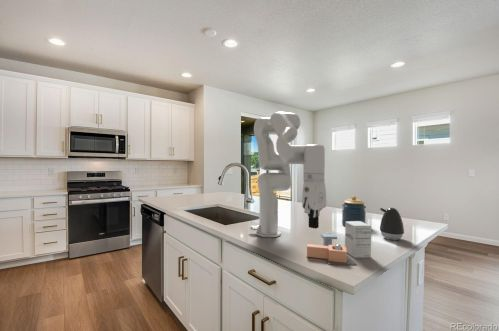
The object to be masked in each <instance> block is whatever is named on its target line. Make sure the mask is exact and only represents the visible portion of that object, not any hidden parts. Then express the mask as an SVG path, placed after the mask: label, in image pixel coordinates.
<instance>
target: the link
mask: <svg viewBox="0 0 499 331" xmlns="http://www.w3.org/2000/svg"><path fill="white" fill-rule="evenodd" d="M335 245H336V244H335ZM335 245H334V244H332V245H328V246H323V245H322V244H311V243H308V244H307V245H306V257H307V258H308V257H309V258H316V259H324V260H325V259H329V261H335V262H344V263H347V255H348V253H347V250H346V246H345V245H341V250H335Z"/></svg>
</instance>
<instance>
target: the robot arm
mask: <svg viewBox="0 0 499 331" xmlns="http://www.w3.org/2000/svg"><path fill="white" fill-rule="evenodd" d="M300 126H301V119H300V116H299V115H298V114H297V113H294V112H286V111H277V112H274V113H272V114H271V116H270V117H268V116H266V117H259V118H257V119H256V120H255V121H254V125H253V134H254V137H255V141H256V145H257V151H258V152H257V153H258V154H257V155H258V165H259V167H260V169H261V170H262V171H277V172H263V173H261V174H260V175H258V177H257V186H258V193H259V200H258V201H259V204H258V205H259V208H258V209H259V217H258V220H259V221H258V222H259V223H258V225H250V230H252V231H256V232H255V234H256V235H257V236H258V237H260V238H261V237H262V238H277V237H280V236H281V235H282V232H281V231H280V230H278V227H279V220H278V219H279V217H278V216H279V201H278V200H279V199H278V196H277V195H276V194H275V192H282V191H284V192H285V191H289V189H290V188H291V186H292V176H291V175H292V174H291V166H290V165H303V172H302V173H303V178H302V179H303V181H302V182H303V184H302V185H303V186H302V191H301V192H302V193H301V206H302V209H304V214H307V217H308V228H309V229H310V228H311V229H315V230H316V229H318V228H319V226H320V225H319V224H320V222H319V218H320V212H321V211H322V210H323V209H325V208H326V207H327V189H326V183H325V165H326V163H325V159H326V158H325V155H326V154H325V152H326V151H325V145H324V144H320V143H319V144H318V143H314V144H312V143H311V144H306V145H302V144H289V143H292V142H293V141H294V140H296V138H297V136H298V129H299V128H300ZM269 135H274V136H275V135H277V139H276V143H275V144H274V141H273V140H272V138H270V136H269ZM274 145H275V146H274ZM275 147H276V148H275ZM275 149H276V151H275Z"/></svg>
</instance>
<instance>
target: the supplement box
mask: <svg viewBox="0 0 499 331" xmlns="http://www.w3.org/2000/svg"><path fill="white" fill-rule="evenodd" d="M344 228H345V229H344V233H345V234H344V238H345V239H344V246H346V250H347V254H348V255H350V256H352V257H353V258H371V254H372V252H371V251H372V225H370V224H368V223H364V222H361V221H346V222H345V226H344Z"/></svg>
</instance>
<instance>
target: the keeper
mask: <svg viewBox="0 0 499 331" xmlns="http://www.w3.org/2000/svg"><path fill="white" fill-rule="evenodd" d="M320 236H321V238H322V239H323V246H328V245H333V240H338V236H336V234H334V233H331V232H323V233H320Z"/></svg>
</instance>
